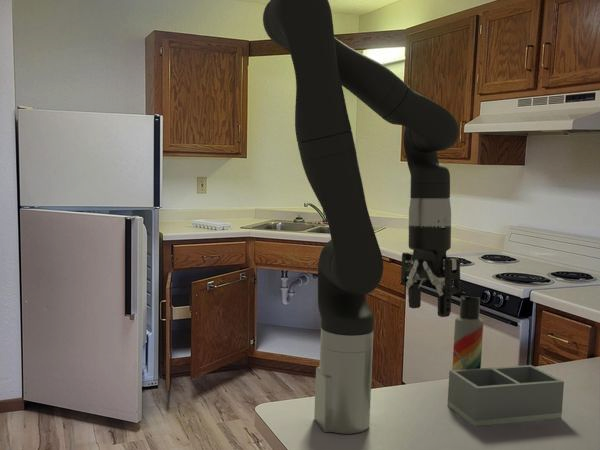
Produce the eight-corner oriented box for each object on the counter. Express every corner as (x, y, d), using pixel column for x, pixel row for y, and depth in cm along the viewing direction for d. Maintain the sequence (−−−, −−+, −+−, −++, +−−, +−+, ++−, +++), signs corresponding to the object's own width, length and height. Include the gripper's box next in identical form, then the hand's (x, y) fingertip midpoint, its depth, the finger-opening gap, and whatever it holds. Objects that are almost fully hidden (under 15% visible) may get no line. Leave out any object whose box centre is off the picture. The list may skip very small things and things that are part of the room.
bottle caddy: (474, 426, 105) (476, 388, 105) (447, 405, 114) (449, 370, 114) (561, 417, 110) (564, 381, 110) (528, 398, 119) (531, 365, 119)
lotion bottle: (448, 390, 122) (453, 296, 121) (454, 382, 127) (459, 291, 126) (476, 396, 120) (482, 299, 118) (481, 387, 125) (487, 295, 123)
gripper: (390, 222, 111) (389, 307, 112) (438, 225, 99) (437, 321, 99) (422, 221, 115) (421, 304, 115) (473, 224, 102) (471, 317, 103)
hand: (428, 312), depth 107 cm, fingers open, 8 cm apart
